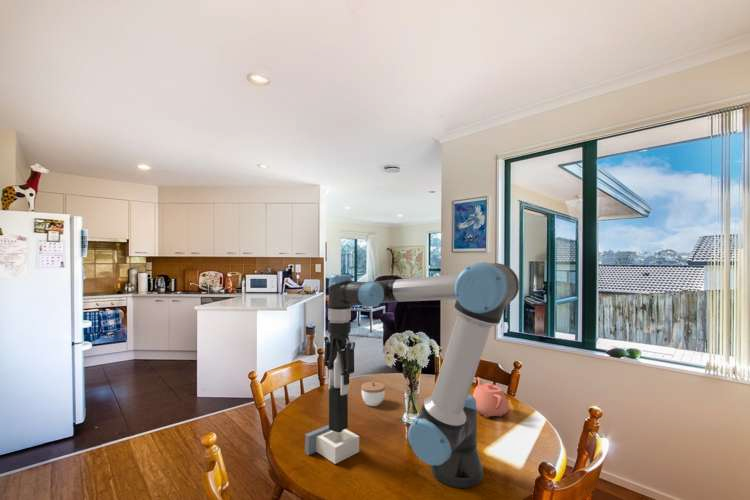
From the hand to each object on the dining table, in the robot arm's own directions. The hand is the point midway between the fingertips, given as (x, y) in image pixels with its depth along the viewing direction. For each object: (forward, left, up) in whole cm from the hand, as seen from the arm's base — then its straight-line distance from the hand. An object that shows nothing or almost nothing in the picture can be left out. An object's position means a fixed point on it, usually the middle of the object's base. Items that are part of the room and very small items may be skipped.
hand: (338, 391), depth 113 cm
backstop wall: (+6, 0, -20) cm, 21 cm away
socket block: (0, 0, -20) cm, 20 cm away
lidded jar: (+20, -36, -20) cm, 46 cm away
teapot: (-20, -65, -20) cm, 71 cm away
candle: (0, 0, -12) cm, 12 cm away
